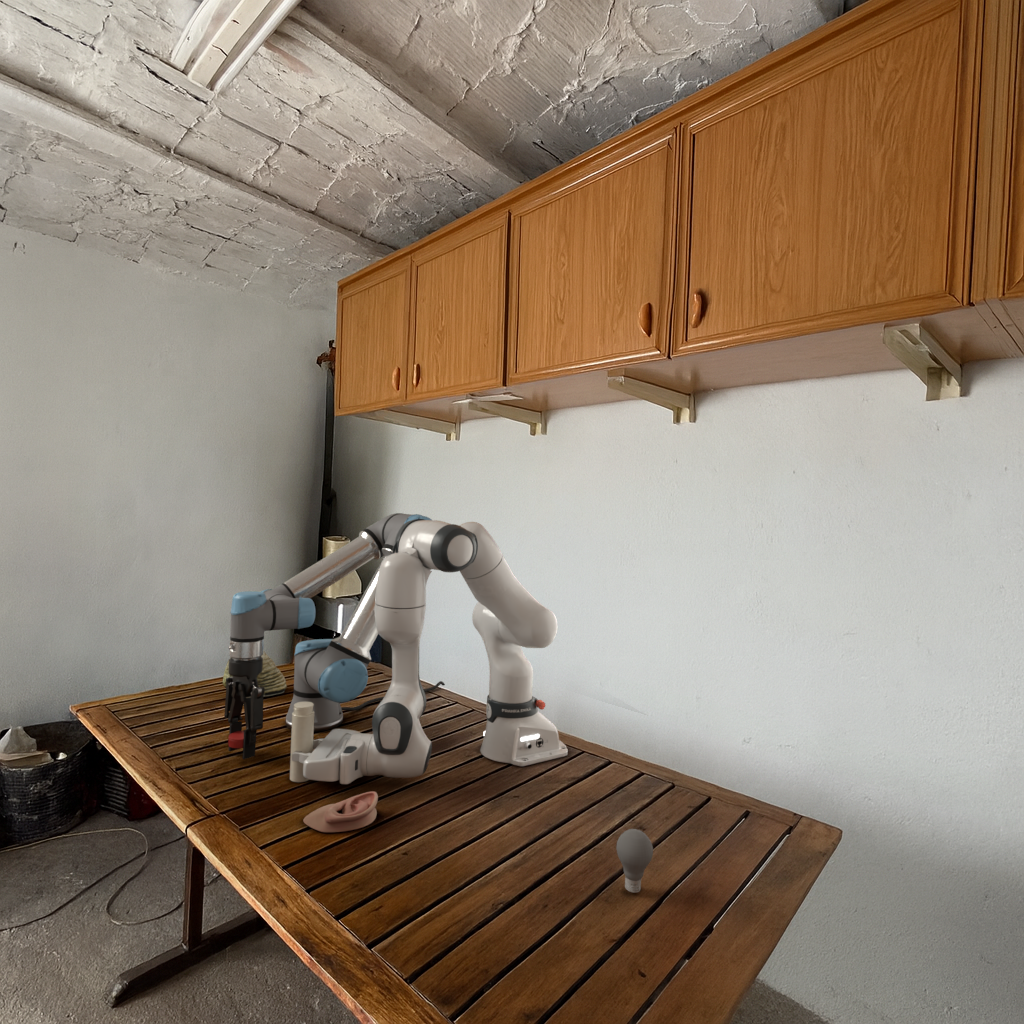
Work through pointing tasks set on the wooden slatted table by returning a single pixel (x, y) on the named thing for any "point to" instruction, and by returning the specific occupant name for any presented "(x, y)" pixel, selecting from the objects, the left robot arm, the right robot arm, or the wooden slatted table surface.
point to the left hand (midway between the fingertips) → (241, 753)
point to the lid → (236, 739)
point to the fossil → (266, 677)
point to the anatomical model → (344, 814)
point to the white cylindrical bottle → (301, 737)
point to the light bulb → (634, 857)
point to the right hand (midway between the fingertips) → (297, 750)
